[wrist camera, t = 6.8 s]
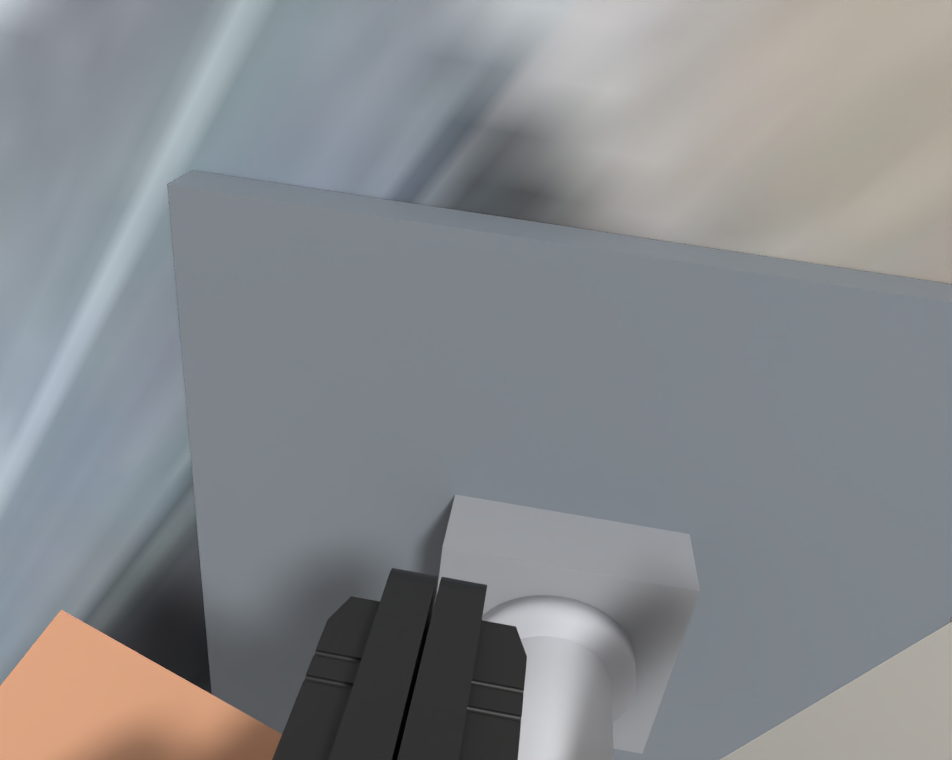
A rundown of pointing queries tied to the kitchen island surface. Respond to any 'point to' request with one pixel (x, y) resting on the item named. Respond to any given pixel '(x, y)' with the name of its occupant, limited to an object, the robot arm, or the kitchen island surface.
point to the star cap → (254, 744)
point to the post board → (561, 456)
